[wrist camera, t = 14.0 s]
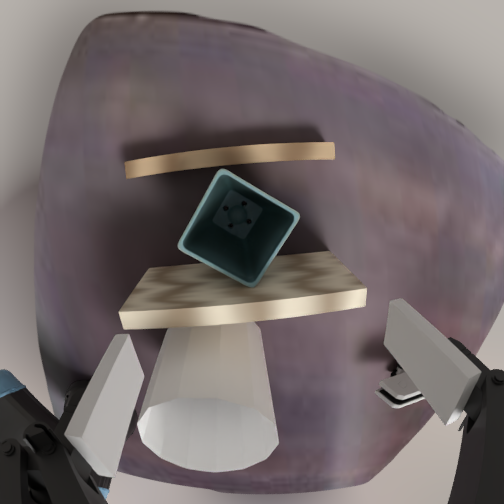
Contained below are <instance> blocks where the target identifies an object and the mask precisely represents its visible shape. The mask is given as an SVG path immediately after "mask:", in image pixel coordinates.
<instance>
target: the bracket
mask: <svg viewBox="0 0 504 504" xmlns="http://www.w3.org/2000/svg"><path fill="white" fill-rule="evenodd" d="M397 366H398V367H397V369H396V370H395V371H393V372H392V373H391V377H390V378H387V379H384V380H381V381H380V382H379V384H378V385H380V386H381V387H382V388H381V389H378V390H376V392H375V394H376V395H378V396H379V397H380V398H381V399H382V400H384V401H385V402H386V403H387V404H388V405H390V406H391V407H393V408H401V407H404V406H406V405H409V404H412V403H414V402H417V401H420V400H422V399H425V397H424V396H423V395H422V393H421V392H420V391H419V389H418V388H417V387H416V385H415V384H414V383H413V381H412V380H411V379H410V377H409V376H408V375H407V373H406V372H405V371H404V370H403V368H402V367H401V366H400V364H399V363H398V362H397Z"/></svg>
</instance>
